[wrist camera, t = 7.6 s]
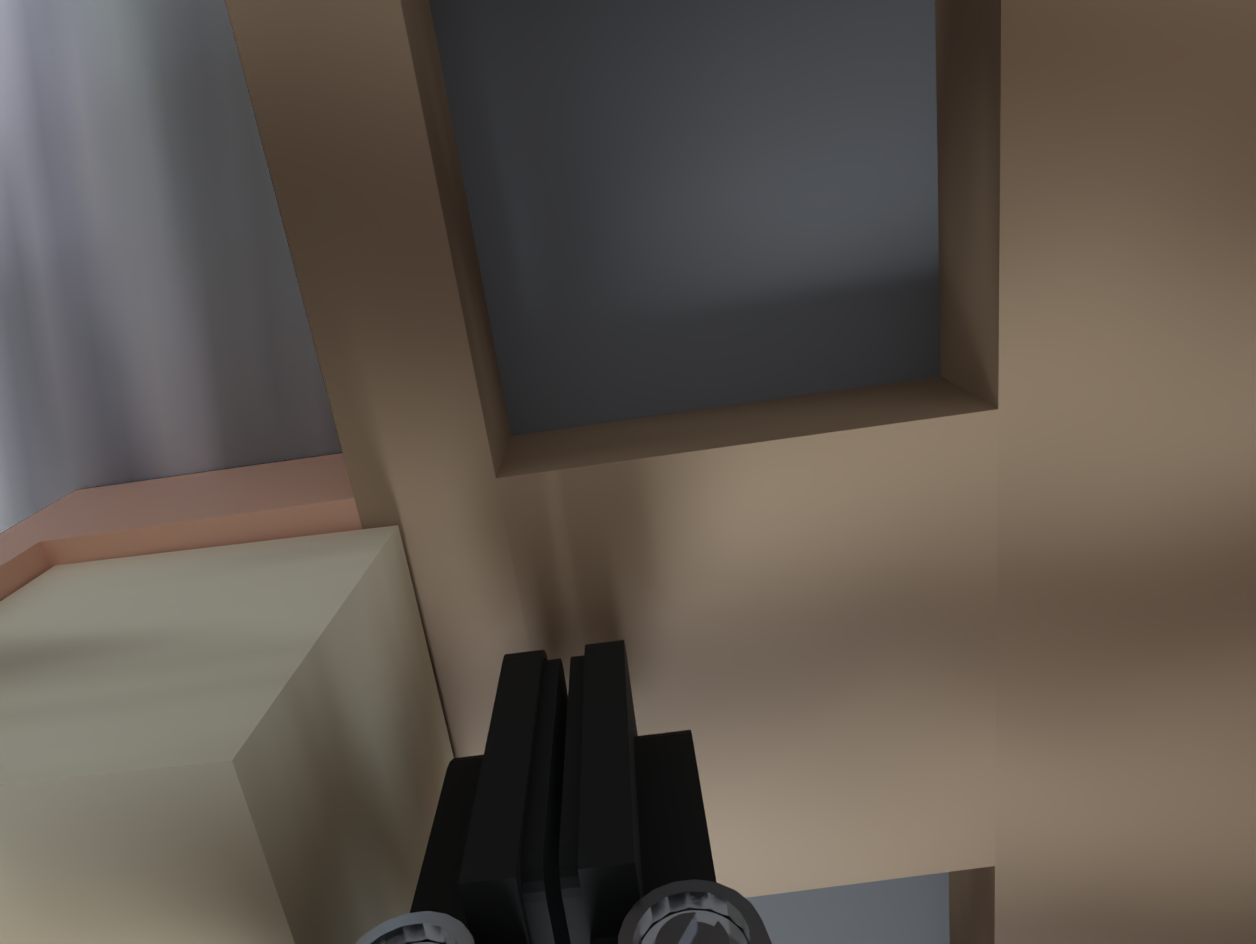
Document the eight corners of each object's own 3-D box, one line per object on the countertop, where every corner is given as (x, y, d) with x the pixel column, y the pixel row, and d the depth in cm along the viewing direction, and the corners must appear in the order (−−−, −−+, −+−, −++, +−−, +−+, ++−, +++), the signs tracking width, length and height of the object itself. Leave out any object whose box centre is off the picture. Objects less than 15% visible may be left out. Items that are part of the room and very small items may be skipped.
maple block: (467, 816, 13) (370, 1166, 9) (164, 844, 14) (-91, 1199, 9) (398, 525, 12) (232, 759, 7) (55, 564, 12) (-328, 818, 7)
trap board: (1232, 1022, 19) (1413, 1265, 15) (317, 1135, 19) (236, 1402, 15) (1406, -283, 11) (1894, -565, 7) (-126, -48, 12) (-546, -181, 7)
